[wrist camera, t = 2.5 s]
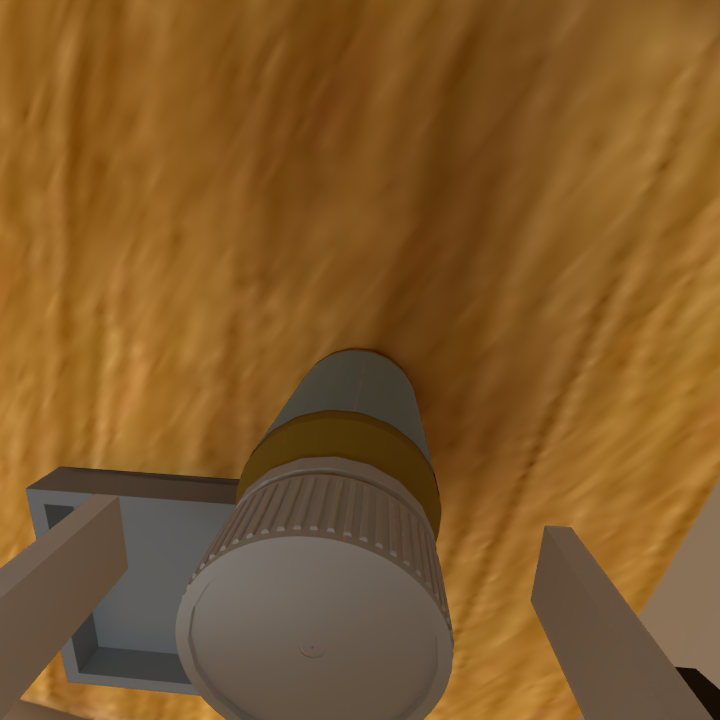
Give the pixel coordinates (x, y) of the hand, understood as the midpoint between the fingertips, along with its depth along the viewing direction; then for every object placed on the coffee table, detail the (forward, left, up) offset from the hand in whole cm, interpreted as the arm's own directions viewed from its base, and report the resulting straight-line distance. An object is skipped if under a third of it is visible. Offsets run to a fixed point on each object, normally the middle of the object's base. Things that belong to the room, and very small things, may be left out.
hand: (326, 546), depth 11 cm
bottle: (0, 0, -12) cm, 12 cm away
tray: (+14, -12, -12) cm, 21 cm away
